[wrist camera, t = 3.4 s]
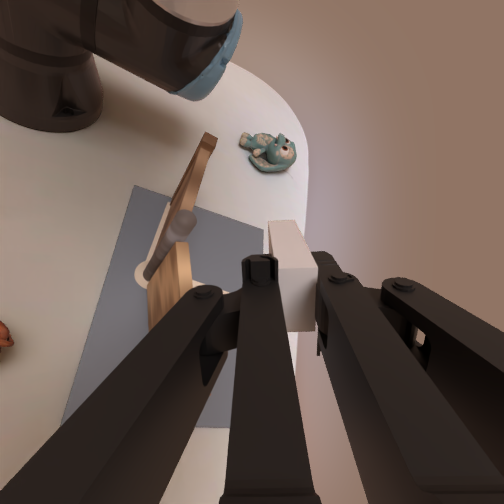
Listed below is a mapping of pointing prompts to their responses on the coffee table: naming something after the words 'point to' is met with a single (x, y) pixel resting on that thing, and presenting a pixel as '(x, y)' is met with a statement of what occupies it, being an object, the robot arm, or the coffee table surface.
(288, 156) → the stuffed animal
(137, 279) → the board
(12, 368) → the coffee table surface
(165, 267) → the fence panel
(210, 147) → the rod
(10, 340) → the bull figurine
